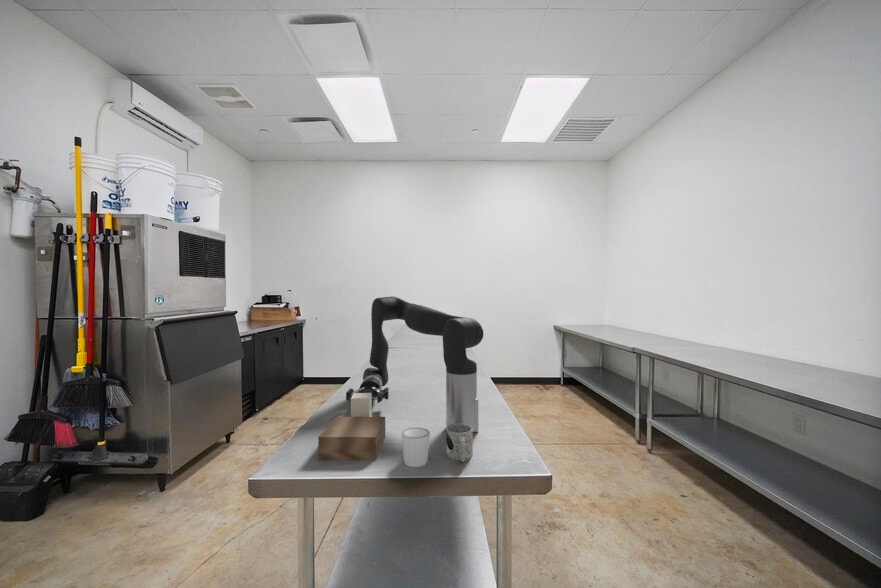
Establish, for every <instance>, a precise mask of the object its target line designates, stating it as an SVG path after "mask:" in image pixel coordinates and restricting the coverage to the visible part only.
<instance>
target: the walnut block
mask: <svg viewBox="0 0 881 588" xmlns="http://www.w3.org/2000/svg"><path fill="white" fill-rule="evenodd" d="M385 438H386V416H372V417H351V416H335V418H334V419H333V420H332V421H331V422H330V423H329V424H328V425H327V426H326V428H325V429H324V430H323V431H322V432H321V433H320V435H319V436H318V437H317V443H318V447H317V450H318V452H317V453H318V457H317V458H318V459H317V460H318V461H377V458H378V456H379V454H380V451H381V448H382V446H383V443H384V441H385Z"/></svg>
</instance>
